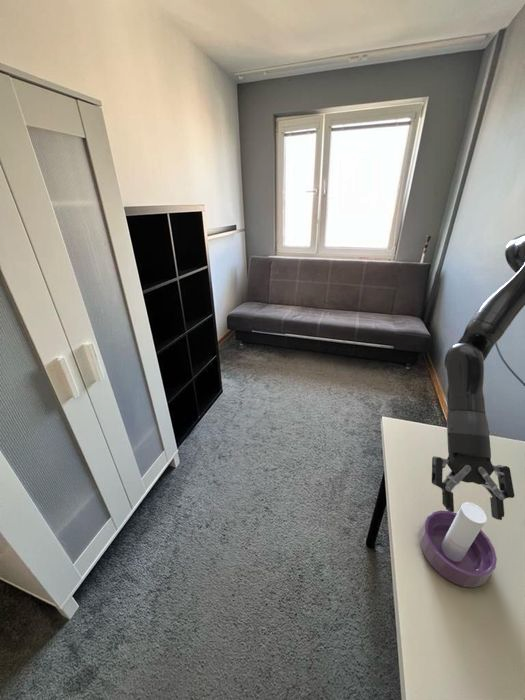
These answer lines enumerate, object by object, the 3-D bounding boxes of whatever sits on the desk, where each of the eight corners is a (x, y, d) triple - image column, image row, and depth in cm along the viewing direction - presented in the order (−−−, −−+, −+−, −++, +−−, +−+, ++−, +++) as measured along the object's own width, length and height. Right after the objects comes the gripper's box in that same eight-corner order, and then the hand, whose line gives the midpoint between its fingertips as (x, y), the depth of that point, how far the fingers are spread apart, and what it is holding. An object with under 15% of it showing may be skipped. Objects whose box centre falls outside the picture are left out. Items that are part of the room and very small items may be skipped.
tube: (458, 566, 61) (482, 527, 54) (437, 549, 64) (457, 511, 57) (466, 552, 63) (489, 513, 56) (445, 536, 66) (465, 498, 59)
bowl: (428, 512, 72) (434, 499, 69) (491, 550, 64) (500, 537, 61) (411, 555, 64) (416, 542, 61) (481, 605, 56) (491, 593, 53)
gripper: (494, 437, 63) (501, 516, 59) (425, 429, 66) (427, 503, 62) (516, 437, 56) (526, 527, 52) (438, 428, 59) (442, 513, 55)
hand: (472, 514), depth 57 cm, fingers open, 8 cm apart
